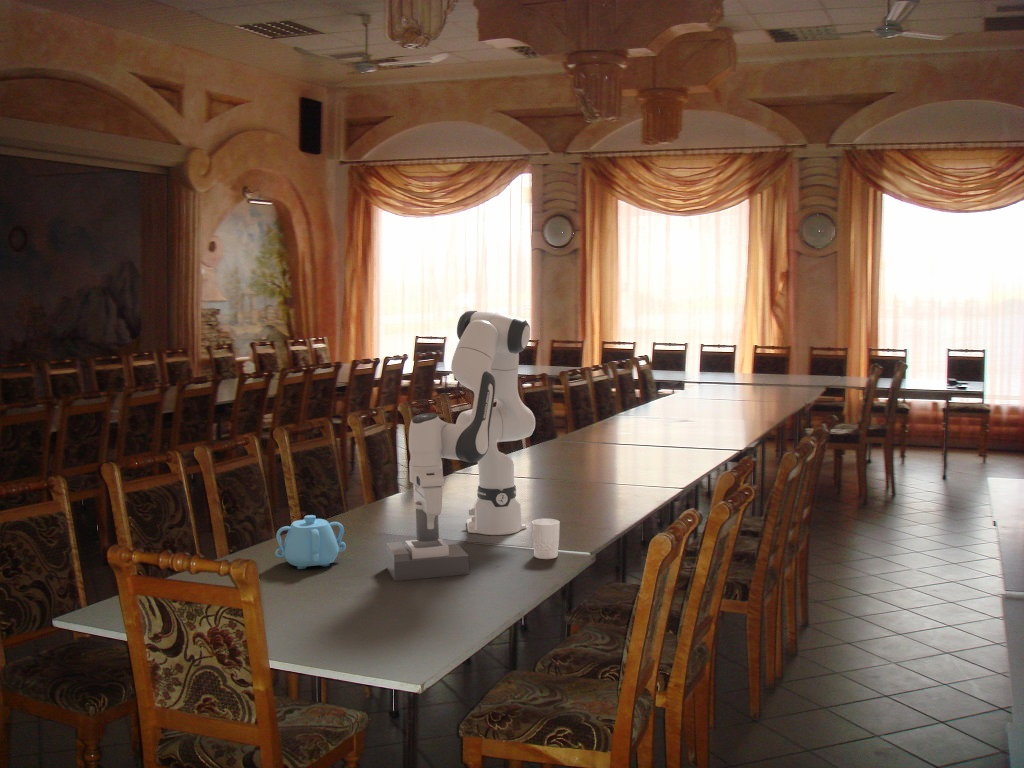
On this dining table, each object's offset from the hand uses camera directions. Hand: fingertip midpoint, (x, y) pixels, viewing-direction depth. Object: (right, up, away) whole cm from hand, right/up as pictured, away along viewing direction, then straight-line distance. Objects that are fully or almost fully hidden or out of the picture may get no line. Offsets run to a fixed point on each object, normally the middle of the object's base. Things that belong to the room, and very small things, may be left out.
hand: (427, 525), depth 274 cm
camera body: (0, -12, +1) cm, 13 cm away
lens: (0, -4, 0) cm, 4 cm away
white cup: (+32, -11, +15) cm, 37 cm away
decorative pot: (-33, -12, +10) cm, 37 cm away
